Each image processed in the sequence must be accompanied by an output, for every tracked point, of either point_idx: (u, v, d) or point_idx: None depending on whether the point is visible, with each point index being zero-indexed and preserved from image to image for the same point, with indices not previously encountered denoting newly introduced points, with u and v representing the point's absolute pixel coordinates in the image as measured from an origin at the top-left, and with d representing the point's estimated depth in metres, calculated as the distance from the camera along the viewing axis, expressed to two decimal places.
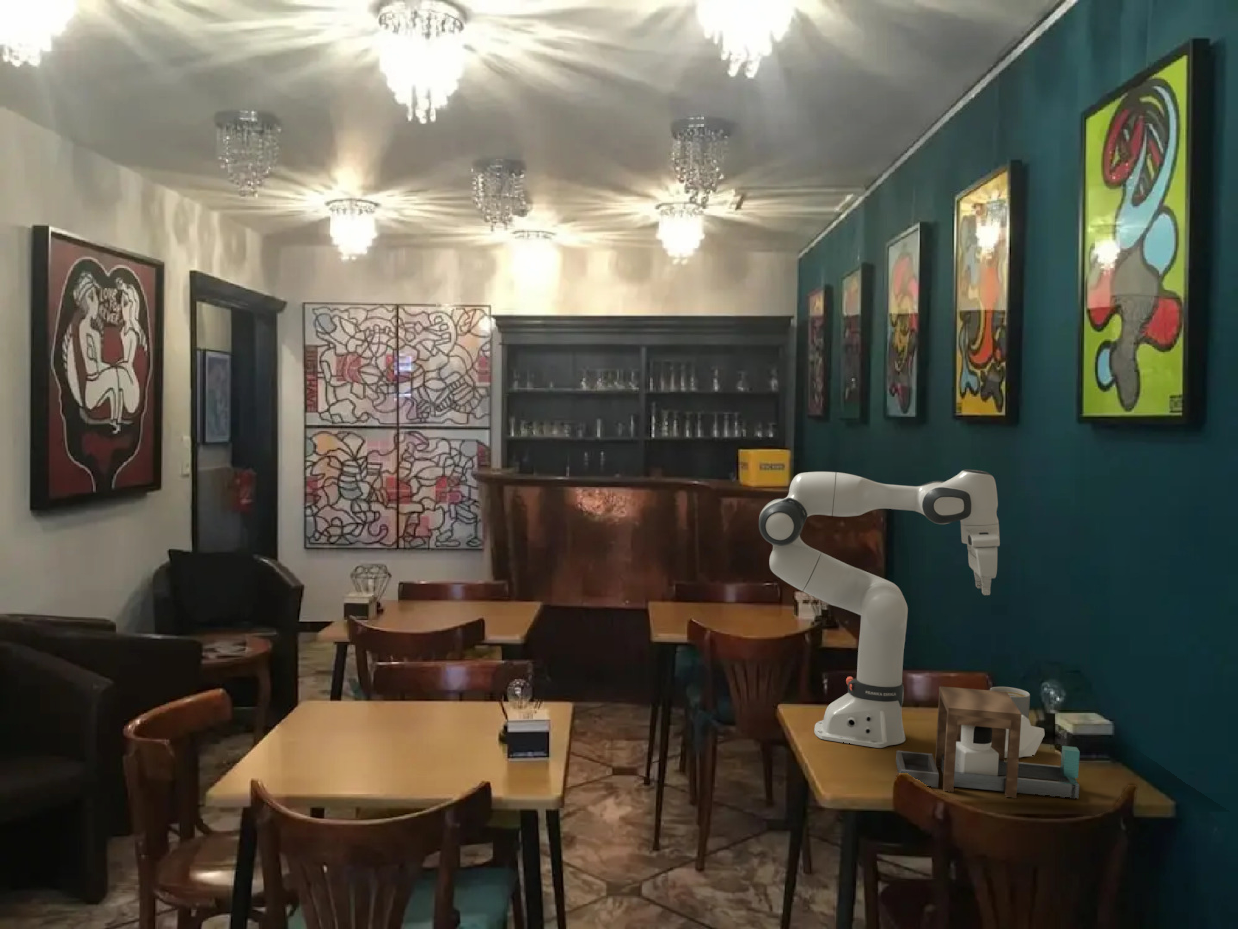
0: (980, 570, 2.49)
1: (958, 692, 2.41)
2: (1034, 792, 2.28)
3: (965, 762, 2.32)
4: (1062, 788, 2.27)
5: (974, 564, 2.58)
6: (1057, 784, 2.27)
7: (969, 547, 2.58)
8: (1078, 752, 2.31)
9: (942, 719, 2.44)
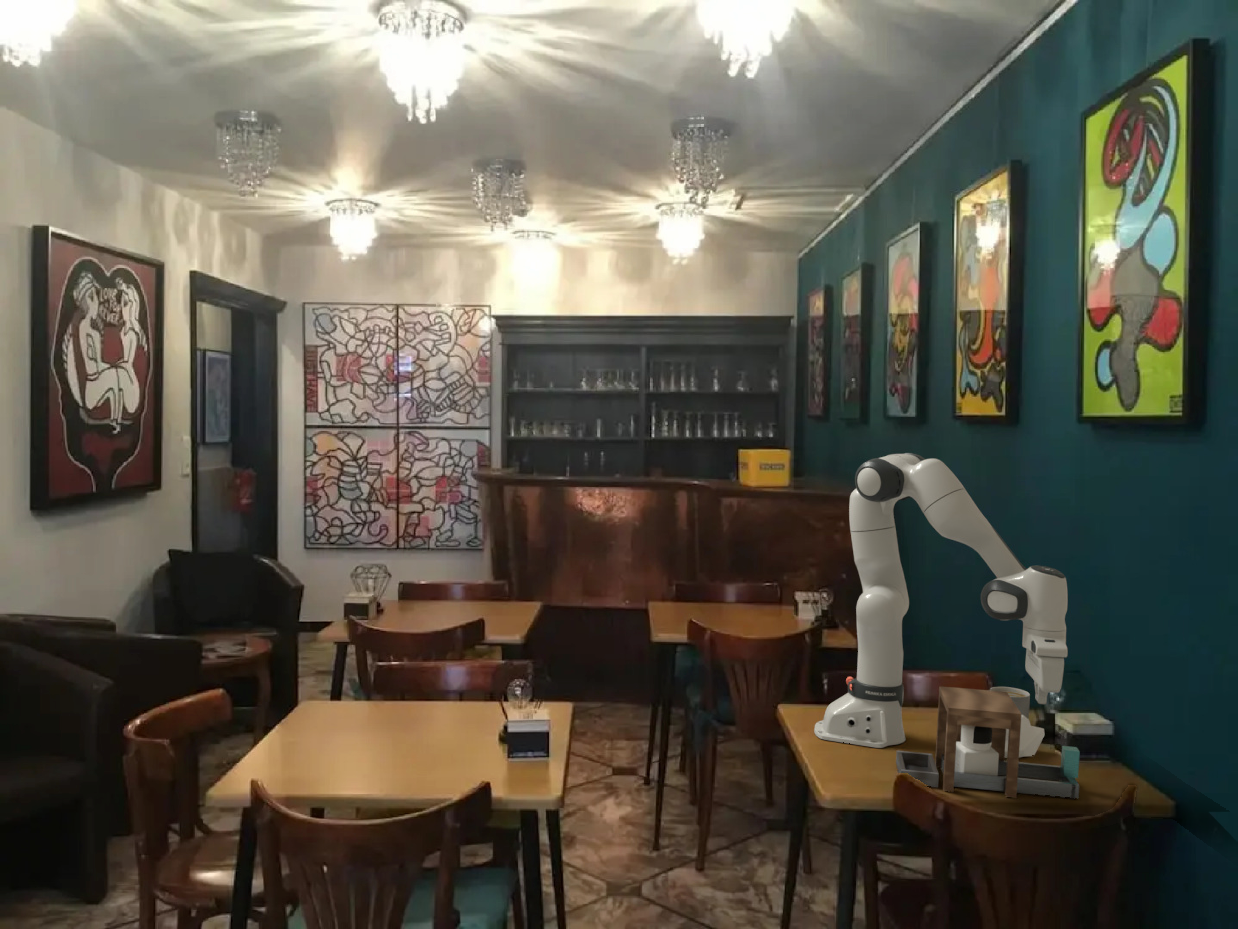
0: (1043, 682, 2.23)
1: (958, 692, 2.41)
2: (1034, 792, 2.28)
3: (965, 762, 2.32)
4: (1062, 788, 2.27)
5: (1034, 672, 2.32)
6: (1057, 784, 2.27)
7: (1030, 653, 2.32)
8: (1078, 752, 2.31)
9: (942, 719, 2.44)
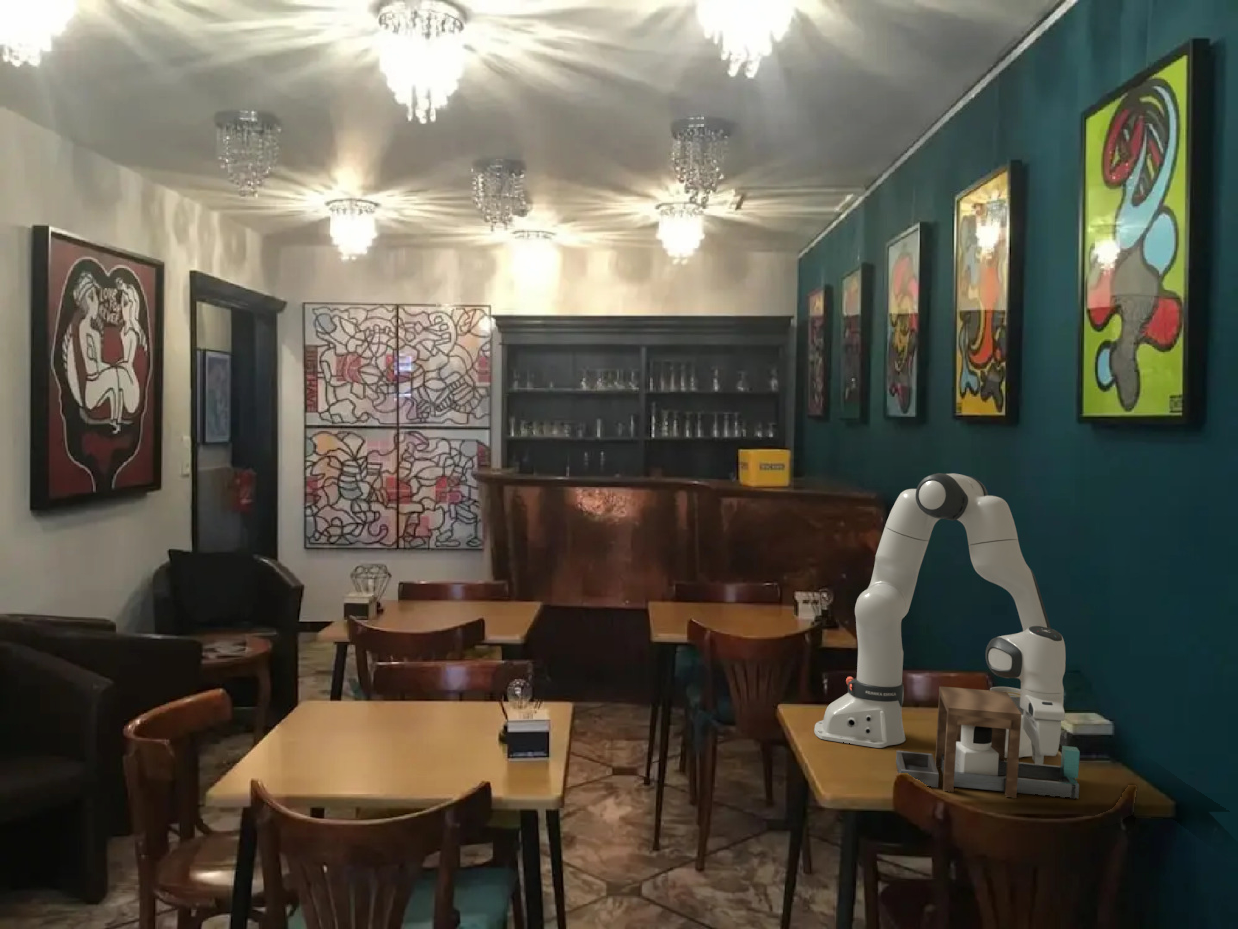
0: (1040, 746, 2.24)
1: (958, 692, 2.41)
2: (1034, 792, 2.28)
3: (965, 762, 2.32)
4: (1062, 788, 2.27)
5: (1031, 732, 2.33)
6: (1057, 784, 2.27)
7: (1028, 714, 2.32)
8: (1078, 752, 2.31)
9: (942, 719, 2.44)
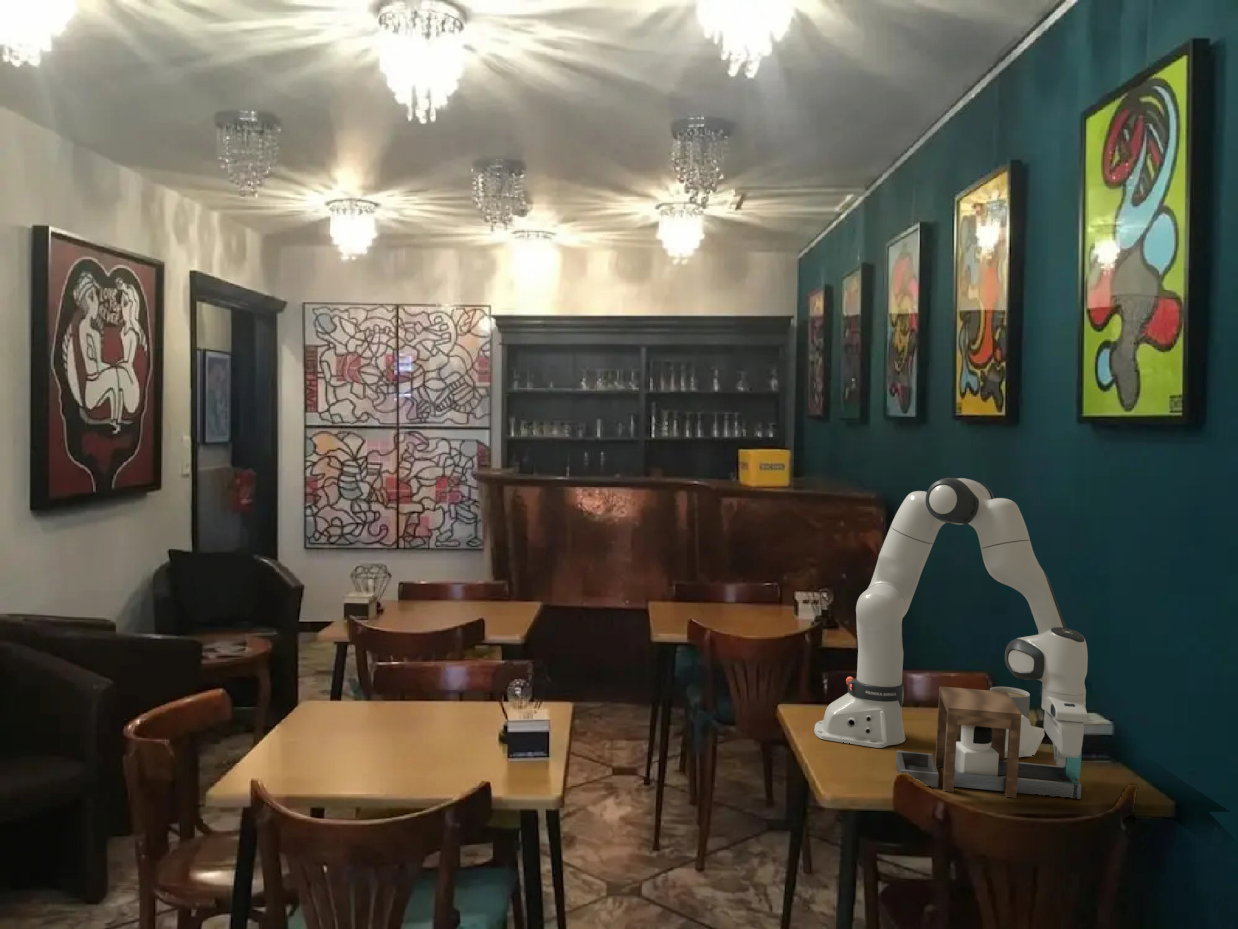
0: (1062, 747, 2.23)
1: (958, 692, 2.41)
2: (1036, 792, 2.28)
3: (965, 762, 2.32)
4: (1064, 788, 2.27)
5: (1053, 734, 2.32)
6: (1059, 784, 2.27)
7: (1050, 715, 2.31)
8: None
9: (942, 719, 2.44)
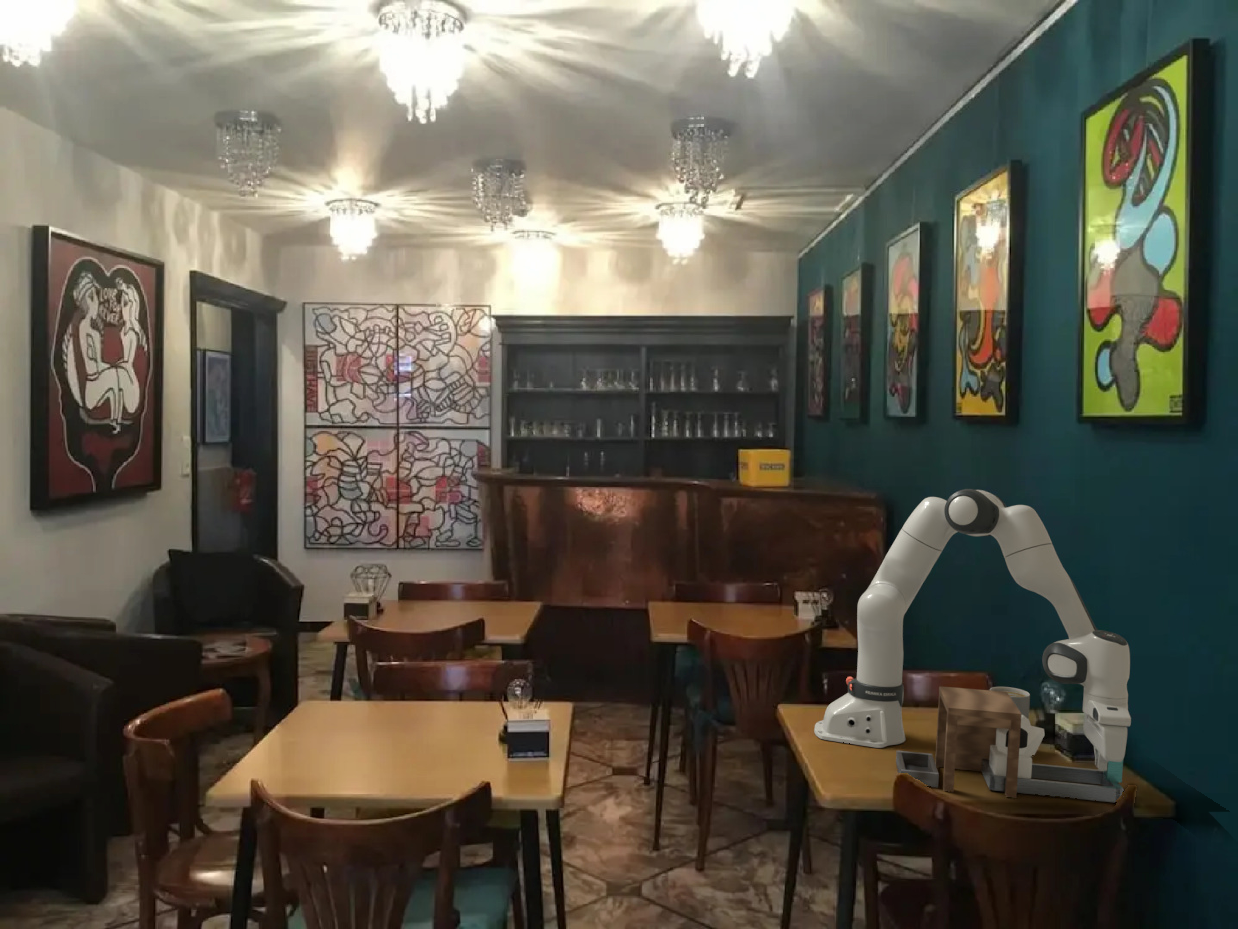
0: (1106, 751, 2.21)
1: (958, 692, 2.41)
2: (1078, 796, 2.27)
3: (995, 765, 2.31)
4: (1106, 792, 2.26)
5: (1094, 738, 2.30)
6: (1101, 788, 2.26)
7: (1091, 719, 2.30)
8: None
9: (942, 719, 2.44)
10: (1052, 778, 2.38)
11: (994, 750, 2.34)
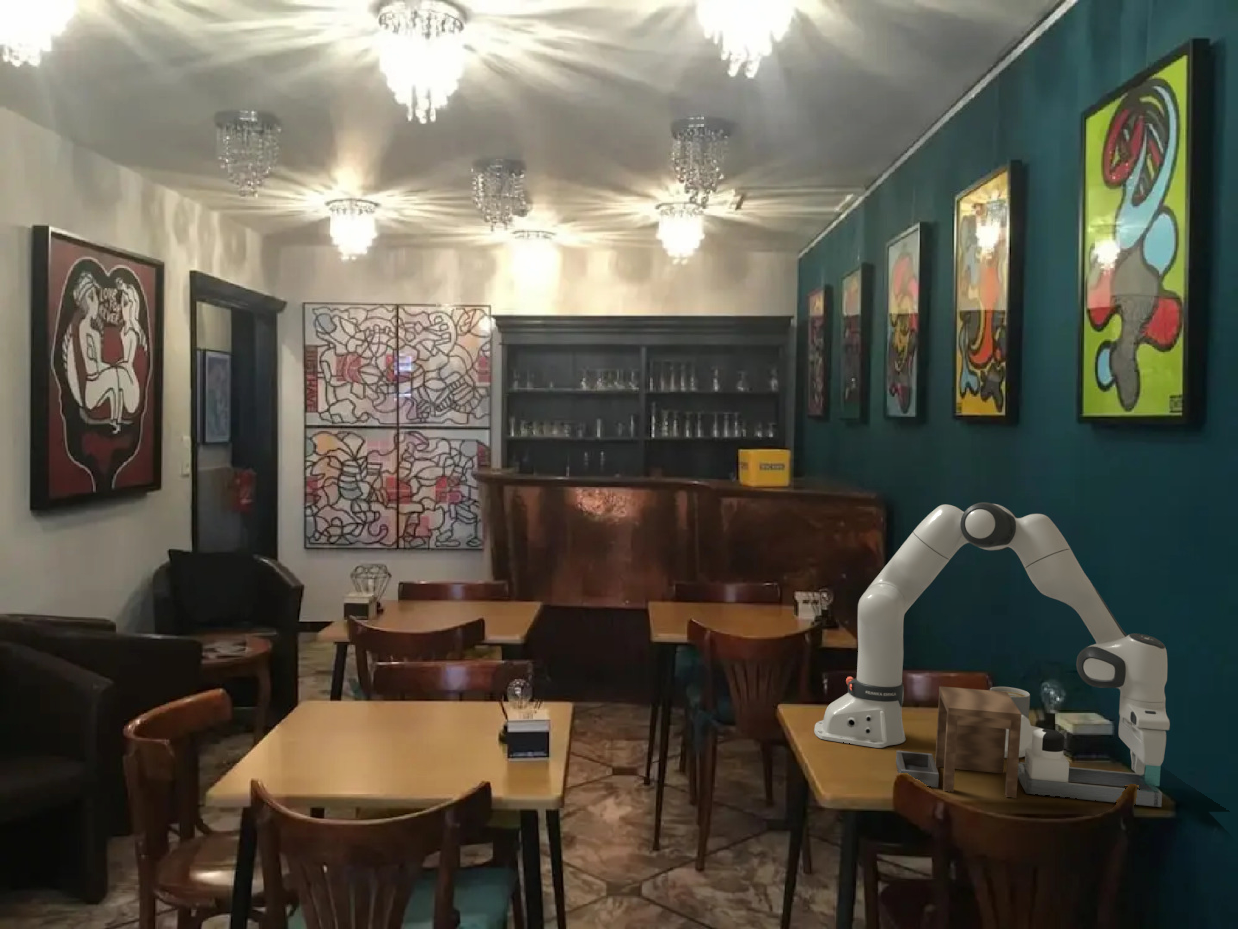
0: (1144, 755, 2.20)
1: (958, 692, 2.41)
2: None
3: (1032, 769, 2.29)
4: (1144, 796, 2.24)
5: (1131, 742, 2.29)
6: (1139, 792, 2.24)
7: (1128, 722, 2.29)
8: None
9: (942, 719, 2.44)
10: (1088, 781, 2.37)
11: (1030, 754, 2.33)
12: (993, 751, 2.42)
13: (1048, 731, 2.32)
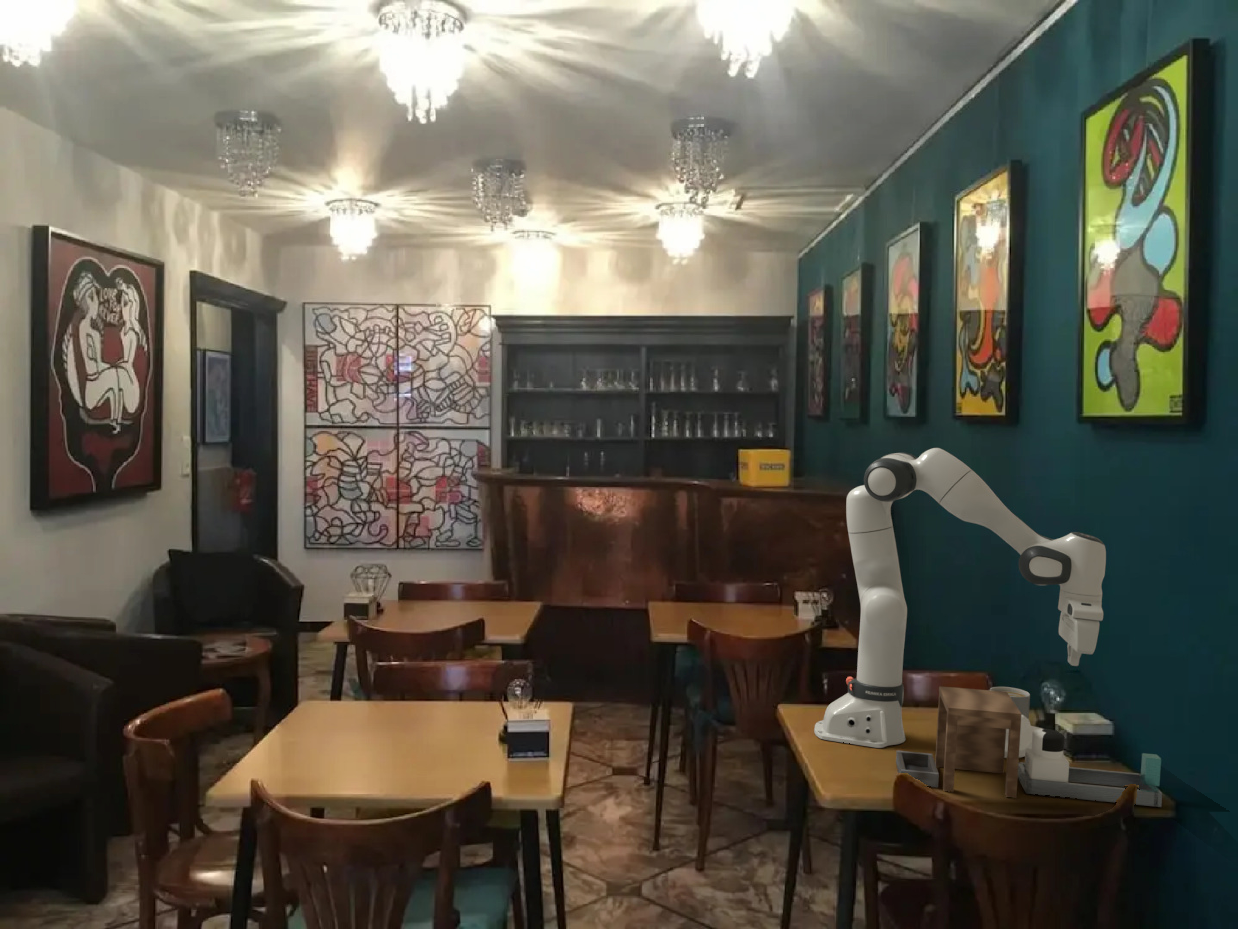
0: (1077, 643, 2.30)
1: (958, 692, 2.41)
2: None
3: (1032, 769, 2.29)
4: (1144, 796, 2.24)
5: (1068, 634, 2.39)
6: (1139, 792, 2.24)
7: (1066, 616, 2.39)
8: (1160, 760, 2.28)
9: (942, 719, 2.44)
10: (1088, 781, 2.37)
11: (1030, 754, 2.33)
12: (993, 751, 2.42)
13: (1048, 731, 2.32)
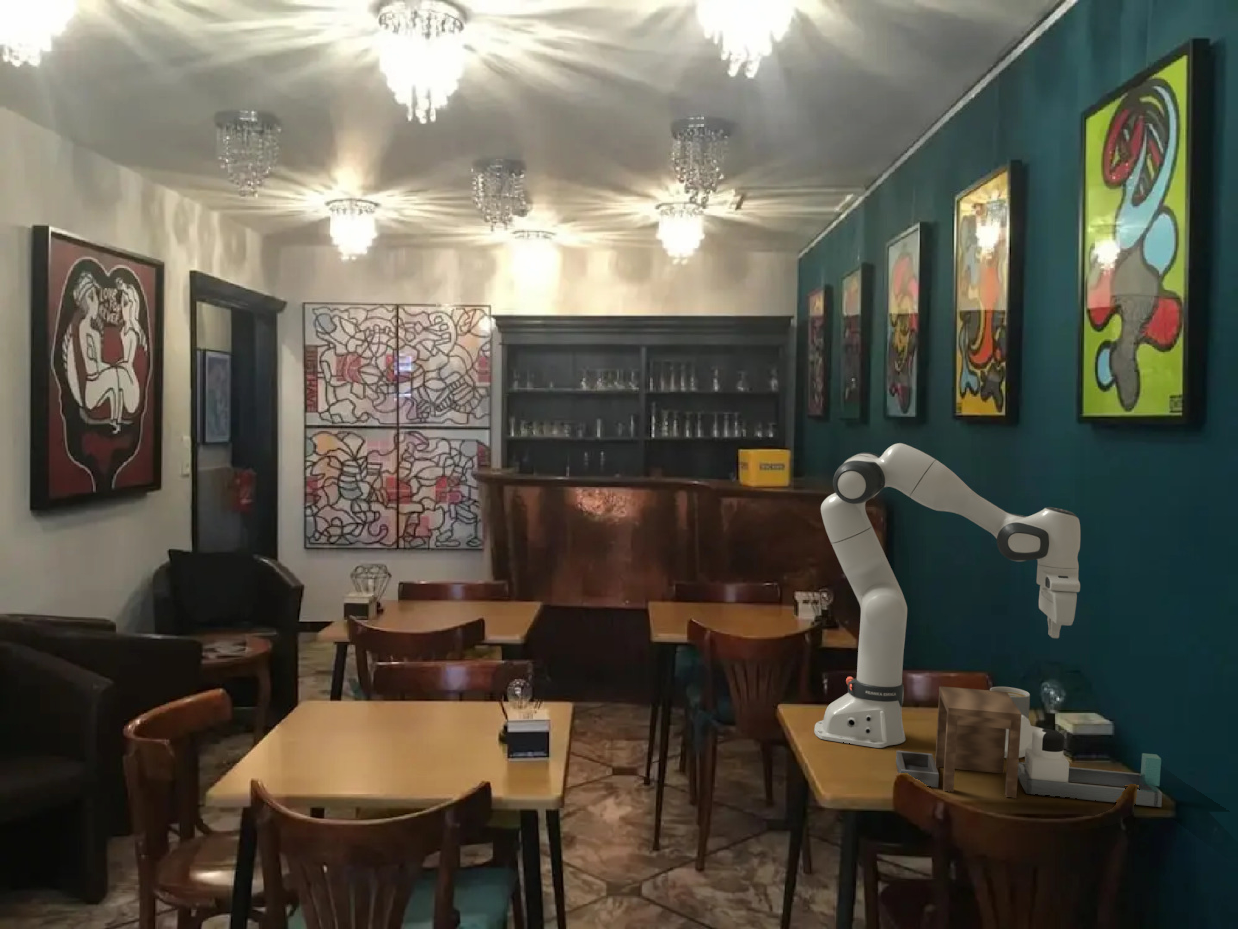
0: (1056, 615, 2.35)
1: (958, 692, 2.41)
2: None
3: (1032, 769, 2.29)
4: (1144, 796, 2.24)
5: (1047, 608, 2.44)
6: (1139, 792, 2.24)
7: (1044, 589, 2.44)
8: (1159, 760, 2.28)
9: (942, 719, 2.44)
10: (1088, 781, 2.37)
11: (1030, 754, 2.33)
12: (993, 751, 2.42)
13: (1048, 731, 2.32)
